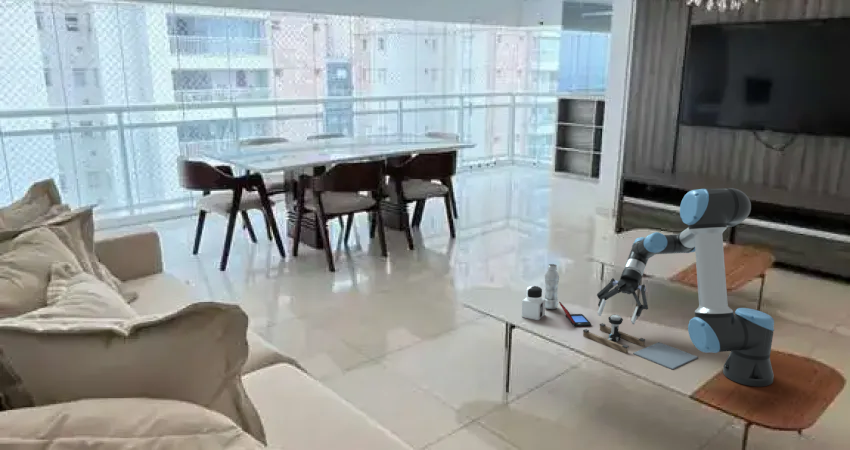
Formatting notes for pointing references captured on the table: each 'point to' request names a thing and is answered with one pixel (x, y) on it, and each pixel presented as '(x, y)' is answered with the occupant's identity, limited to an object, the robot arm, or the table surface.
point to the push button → (615, 327)
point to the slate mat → (665, 355)
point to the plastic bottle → (551, 287)
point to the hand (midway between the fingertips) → (615, 318)
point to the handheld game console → (576, 318)
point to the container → (533, 303)
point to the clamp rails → (610, 343)
